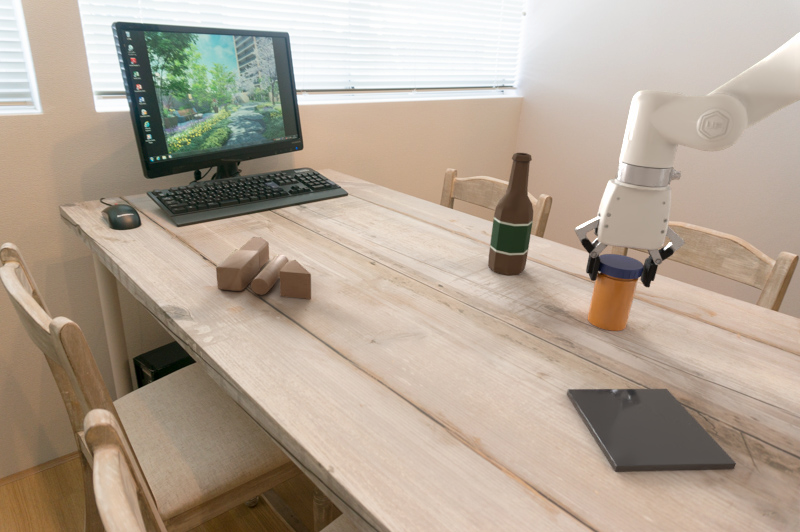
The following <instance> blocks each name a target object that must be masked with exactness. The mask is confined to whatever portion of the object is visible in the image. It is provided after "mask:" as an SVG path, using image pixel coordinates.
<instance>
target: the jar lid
mask: <svg viewBox="0 0 800 532" xmlns="http://www.w3.org/2000/svg"><path fill="white" fill-rule="evenodd" d="M599 258H600V264H599V269H598V270H599V271H600V272H601V273H603V274H606V275H608V276H612V277H616V278H621V279H637V278H638V279H639V278H641V275H642V273H643V269H644V268H643V267H644V263H643V262H642V261H640V260H639V259H636V258H633V257H630V256H627V255H622V254H616V253H603V254H599Z"/></svg>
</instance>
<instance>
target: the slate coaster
mask: <svg viewBox="0 0 800 532" xmlns="http://www.w3.org/2000/svg"><path fill="white" fill-rule="evenodd" d="M566 390H567V391H566V396H568V398H569V400H570V402H571V403H572V405H573V407H574V408H575V410H576V411H577V413H578V415H579V416H580V418H581V419H582V421H583V422H584V424H585V426H586V427H587V429H588V430H589V432H590V434H591V435H592V437H593V438H594V440H595V442H596V443H597V445H598V447H599V448H600V450H601V451H602V453H603V454H604V456H605V458H606V460H607V461H608V463H609V464H610V466H611V468H612V469H613V470H614V472H646V471H647V472H648V471H649V472H651V471H652V472H653V471H654V472H655V471H693V470H694V471H695V470H696V471H697V470H699V471H700V470H734V469H735V468H736V465H737V463H736V461H735V460H734V459H733V458H732V457H731V456H730V455H729V453H727V451H726V450H725V449H723V447H722V446H721V445H720V444H719V443H718V442H717V441H716V440H715V438H713V436H712V435H711V434H710V433H709V432H708V431H707V430H706V429H705V428H704V427H703V426H702V425H701V424H700V423H699V421H698V420H696V418H694V416H693V415H692V414H691V413H690V412H689V411H688V410H687V409H686V408H685V407H684V405H683V404H682V403H681V402H680V401H679V400H678V399H677V398H676V397H675V396H674V395H673V394H672V392H671V391H670V390H669V389H668V388H582V389H581V388H577V389H576V388H571V389H570V388H569V389H566Z"/></svg>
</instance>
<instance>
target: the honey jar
mask: <svg viewBox="0 0 800 532" xmlns="http://www.w3.org/2000/svg"><path fill="white" fill-rule="evenodd" d="M638 280H639V278H637V279H621V278H616V277H612V276H608V275H606V274H603V273H601V272H600V271H599V270H598V274H597V278H596V280H595V281H594V284H593V289H592V294H591V298H590V303H589V307H588V308H589V309H588V312H587V317H586V318H587V321H588V322H589V323H590V324H591V325H593V326H595V327H596V328H599V329H601V330H605V331H610V332H619V331H623V330H625V329H626V328H627V326H628V323H629V318H630V314H631V310H632V306H633V301H634V298H635V294H636V290H637V285H638V283H639V281H638Z"/></svg>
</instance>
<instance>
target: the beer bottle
mask: <svg viewBox="0 0 800 532" xmlns="http://www.w3.org/2000/svg"><path fill="white" fill-rule="evenodd" d="M511 160H512V163H511V170H510V174H509V179H508V185H507V188H506V191H505V193H504V195H503V196H502V197H501V198H500V200H499V201H498V203H497V205H496V207H495V209H494V214H493V221H492V227H491V236H490V245H489V252H488V260H487V261H488V262H487V266H488V268H489V269H490V270H491V271H492V272H493V273H497V274H500V275H505V276H517V275H518V276H519V275H521V274H522V273H523V272H524V271H525V270H526V265H527V260H528V253H529V247H530V242H531V241H530V240H531V234H532V228H533V223H534V207H533V203H532V201H531V200H530V197H529V194H528V192H529V191H528V187H529V176H530V175H529V173H530V163H531V161H532V155H531V154H529V153H528V152H515V153H513V155H512V157H511Z"/></svg>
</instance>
